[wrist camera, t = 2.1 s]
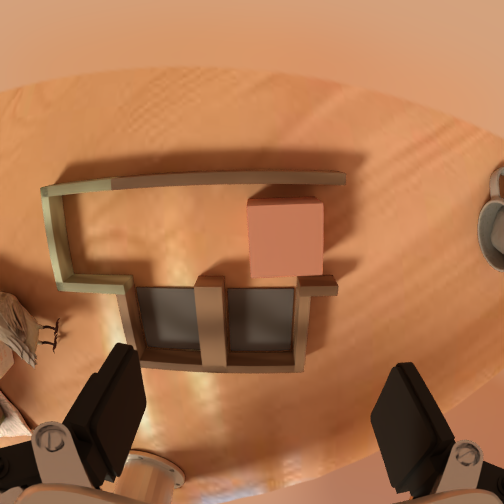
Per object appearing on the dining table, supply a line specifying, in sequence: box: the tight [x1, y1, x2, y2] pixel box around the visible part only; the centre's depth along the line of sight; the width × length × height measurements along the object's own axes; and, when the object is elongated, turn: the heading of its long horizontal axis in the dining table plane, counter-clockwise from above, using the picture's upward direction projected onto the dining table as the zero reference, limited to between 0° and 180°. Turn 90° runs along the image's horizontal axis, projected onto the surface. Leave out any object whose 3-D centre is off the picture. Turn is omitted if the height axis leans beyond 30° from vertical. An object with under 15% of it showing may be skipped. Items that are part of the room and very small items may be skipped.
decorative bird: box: [0, 291, 60, 369], centre depth 28 cm, size 5×16×8 cm, turn 64°
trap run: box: [40, 170, 346, 373], centre depth 29 cm, size 20×28×2 cm
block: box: [247, 197, 324, 278], centre depth 27 cm, size 6×6×4 cm
